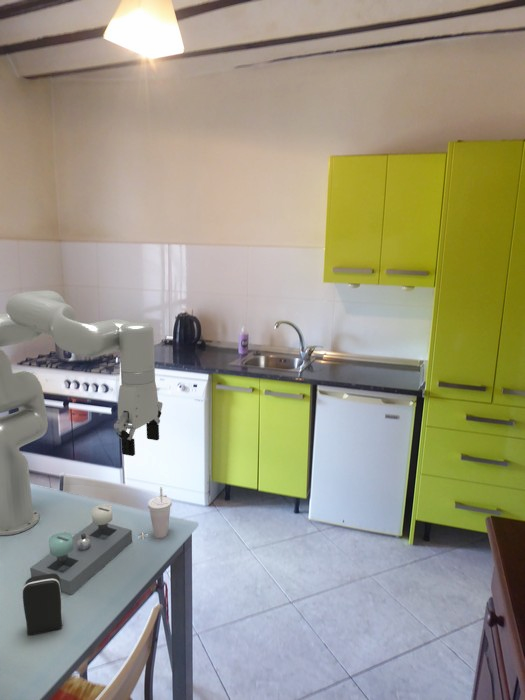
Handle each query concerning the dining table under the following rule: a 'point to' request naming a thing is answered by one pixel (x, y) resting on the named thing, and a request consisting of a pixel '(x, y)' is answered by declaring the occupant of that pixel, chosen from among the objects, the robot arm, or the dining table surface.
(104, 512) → the knob
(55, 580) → the black rounded upright block
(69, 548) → the knob
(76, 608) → the dining table surface
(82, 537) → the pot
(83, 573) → the mount
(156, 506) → the smoothie
